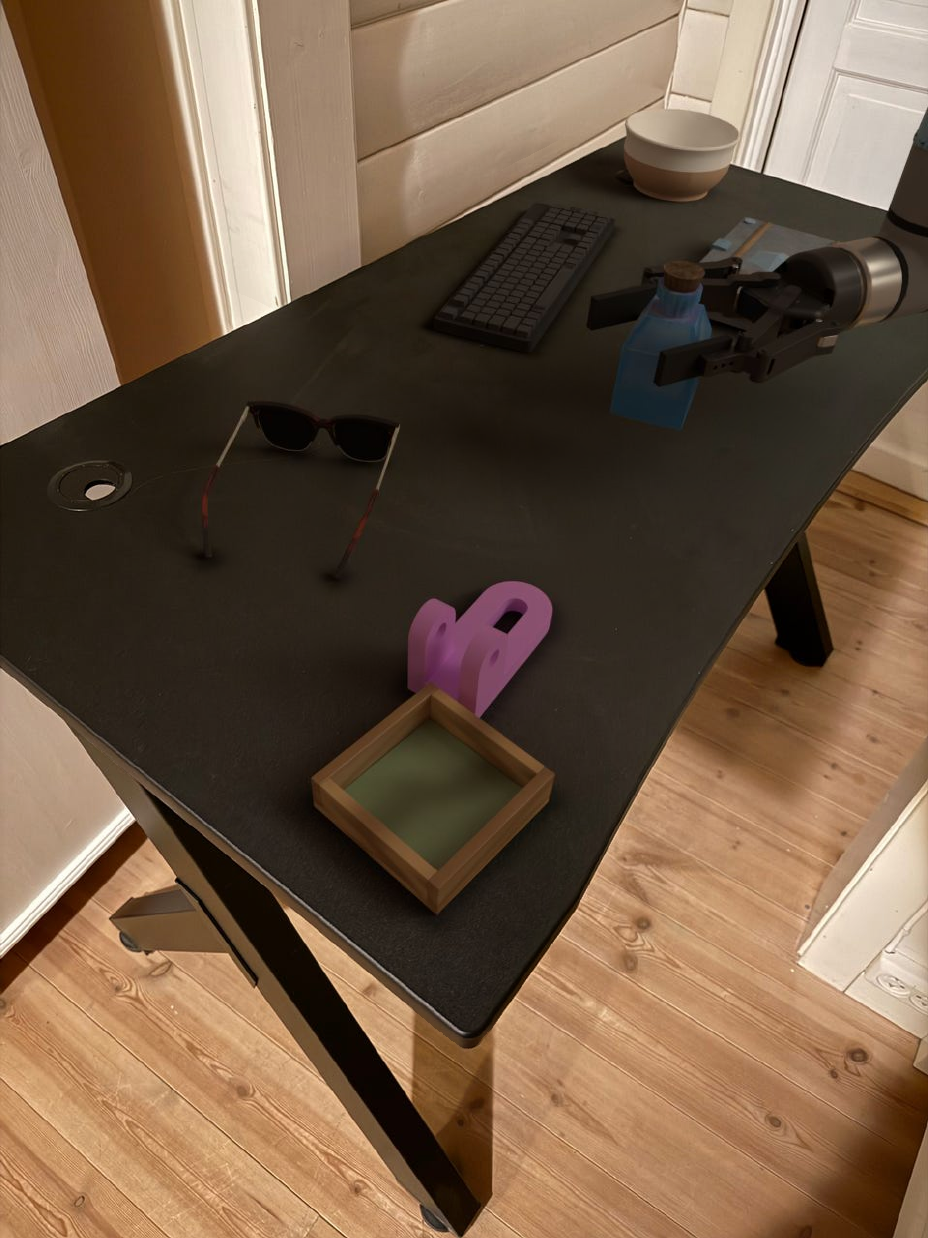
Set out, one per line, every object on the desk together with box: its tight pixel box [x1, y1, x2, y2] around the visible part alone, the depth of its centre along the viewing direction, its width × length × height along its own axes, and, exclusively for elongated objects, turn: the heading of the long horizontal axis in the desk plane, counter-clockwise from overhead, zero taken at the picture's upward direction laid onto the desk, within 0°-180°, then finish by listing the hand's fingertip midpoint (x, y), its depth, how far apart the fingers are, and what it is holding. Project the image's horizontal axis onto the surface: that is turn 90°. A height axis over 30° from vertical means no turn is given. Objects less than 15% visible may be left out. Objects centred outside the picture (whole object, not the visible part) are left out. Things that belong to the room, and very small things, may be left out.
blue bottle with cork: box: [609, 260, 713, 432], centre depth 74 cm, size 6×6×12 cm
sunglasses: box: [201, 400, 401, 580], centre depth 76 cm, size 14×16×5 cm
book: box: [698, 216, 842, 338], centre depth 107 cm, size 21×16×5 cm
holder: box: [310, 682, 556, 915], centre depth 56 cm, size 11×11×3 cm
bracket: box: [407, 580, 553, 719], centre depth 65 cm, size 13×6×7 cm, turn 148°
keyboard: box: [434, 202, 616, 354], centre depth 109 cm, size 35×11×2 cm, turn 159°
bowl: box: [623, 108, 741, 203], centre depth 128 cm, size 16×16×8 cm
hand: (624, 340), depth 72 cm, fingers closed on blue bottle with cork, 9 cm apart
